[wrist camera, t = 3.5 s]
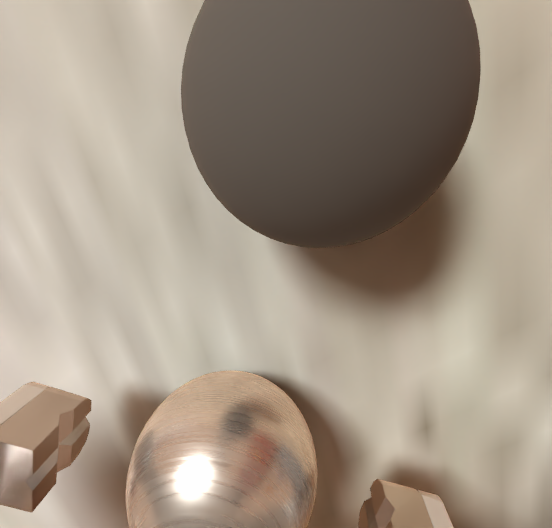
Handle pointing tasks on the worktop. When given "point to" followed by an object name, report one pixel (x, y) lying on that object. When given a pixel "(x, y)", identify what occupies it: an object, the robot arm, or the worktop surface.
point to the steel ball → (223, 458)
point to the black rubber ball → (328, 110)
